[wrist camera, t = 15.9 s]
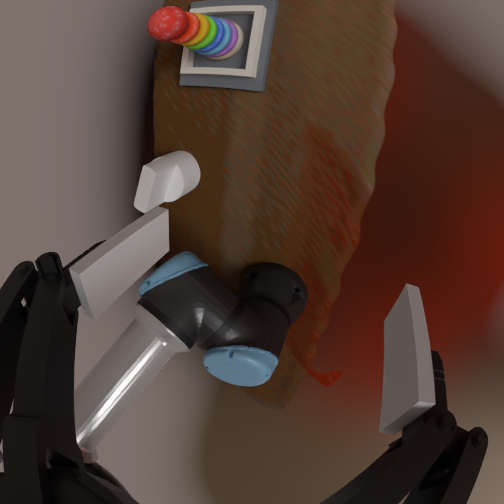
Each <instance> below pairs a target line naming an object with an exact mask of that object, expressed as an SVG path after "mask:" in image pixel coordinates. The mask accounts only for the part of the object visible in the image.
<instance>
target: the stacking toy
mask: <svg viewBox="0 0 504 504" xmlns="http://www.w3.org/2000/svg"><path fill="white" fill-rule="evenodd" d="M147 28H148V32H149V34H150V35H151V36H152V37H153V38H155V39H157V40H159V41H172V42H173V43H177V44H180V45H183V46H185V47H186V48H188V49H191V50H193V51H195V52H197V53H199V54H202V55H205V56H207V57H208V58H210V59H213V60H224V59H228V58H230V57H232V56H233V55H235V54H236V53H237V52H238V51H239V49H240V48H241V46H242V44H243V39H244V36H243V31H242V29H241V28H240V27H239V25H237V24H236V23H235V22H233V21H230V20H227V19H224V18H215V17H212V16H207V15H203V14H200V13H191V12H185V11H184V10H182V9H181V8H178V7H175V6H167V7H163V8H160V9H159V10H157V11H155V12H154V13H153V14H152V16H151V17H150V18H149V21H148V25H147Z"/></svg>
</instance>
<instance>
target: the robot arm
mask: <svg viewBox="0 0 504 504" xmlns="http://www.w3.org/2000/svg"><path fill="white" fill-rule="evenodd" d="M168 251H169V222H168V209H165V208H161V207H156V208H154V209H153V210H151V211H150V212H148V213H147V214H145V215H144V216H142V217H141V218H139V219H137V220H136V221H134V222H133V223H131V224H130V225H128V226H127V227H125V228H124V229H123V230H121V231H119V232H118V233H116V234H115V235H114V236H112V237H111V238H109V239H108V240H104V241H101V242H99V243H96V244H95V245H93V246H92V247H91V248H89V250H86V251H85V252H84V253H83V254H81V255H80V256H78V257H77V258H76V259H74V260H73V261H72V262H70V263H69V264H68V265H66V266H65V267H64V268H63V267H62V263H61V260H60V257H59V255H58V254H57V253H55V252H48V253H45V254H42V255H41V256H40V257H38V258H37V260H36V261H35V263H36V266H37V269H38V271H37V270H36V269H35V266H34V264H33V262H31V261H24V262H22V263H20V264H18V265H17V266H16V267H15V268H14V270H13V271H12V273H11V274H10V276H9V277H8V278H7V280H6V281H5V283H4V284H3V286H2V287H1V289H0V443H1V441H2V438H3V454H2V452H1V451H0V463H1V462H2V461H3V464H4V472H0V504H139V503H138V502H137V501H135V500H134V499H133V498H132V497H131V496H130V494H129V493H128V491H127V490H126V489H125V488H124V486H123V485H122V484H121V483H120V482H119V481H118V480H117V479H116V478H115V477H114V476H113V475H112V474H111V473H110V472H109V471H107V470H106V469H105V468H103V467H102V466H101V465H99V464H98V463H96V461H97V459H98V454H97V451H96V447H97V445H98V444H99V443H100V442H101V441H102V439H103V438H104V437H105V436H106V435H107V434H108V432H109V431H110V430H111V429H112V427H113V426H114V425H115V424H116V423H117V422H118V420H119V419H120V418H121V417H122V416H123V414H124V413H125V412H126V411H127V409H129V407H130V406H131V405H132V404H133V403H134V401H135V400H136V399H137V398H138V396H139V395H140V394H141V393H142V392H143V390H144V389H145V388H146V387H147V386H148V385H149V383H150V382H151V381H152V380H153V379H154V377H155V376H156V375H157V374H158V373H159V371H160V370H161V369H162V368H163V366H164V365H165V364H166V363H167V362H168V360H169V359H170V358H171V357H172V355H174V353H177V352H186V351H189V350H190V348H191V347H192V346H193V345H194V344H196V345H197V346H198V347H199V348H201V349H202V350H203V351H204V352H205V354H204V357H203V364H204V365H205V366H206V369H207V370H208V371H209V372H210V373H211V374H212V375H214V376H215V377H218V378H219V379H221V380H223V381H225V382H228V383H231V384H235V385H240V386H256V385H260V384H262V383H264V382H266V381H267V380H268V379H269V378H270V377H271V375H272V373H273V371H274V369H275V367H276V365H277V364H278V359H279V356H280V353H281V351H282V348H283V345H284V342H285V339H286V336H287V333H288V330H289V328H290V326H291V325H292V324H293V323H294V322H295V321H296V320H297V318H298V317H299V316H300V315H301V314H302V313H303V311H304V309H305V306H306V302H307V298H308V294H307V289H306V286H305V284H304V282H303V281H302V279H301V278H300V277H299V276H298V275H297V274H296V273H295V272H293V271H292V270H290V269H289V268H287V267H285V266H282V265H279V264H274V263H262V264H258V265H255V266H253V267H252V268H250V269H249V270H248V271H247V272H246V273H245V275H244V276H243V278H242V280H241V282H240V285H239V291H238V293H237V292H236V291H234V290H233V289H232V288H231V287H230V286H229V285H228V284H227V283H226V282H224V281H223V280H222V279H221V278H220V277H219V276H218V275H217V274H216V273H215V272H214V271H213V270H212V269H211V268H210V267H209V265H208V264H206V263H204V262H203V261H202V260H200V259H199V258H198V257H197V256H196V255H194V254H193V253H191V252H188V251H185V252H181V253H179V254H177V255H175V256H174V257H172V258H171V259H169V260H168V261H166V262H165V263H164V264H162V265H161V266H160V267H159V268H158V269H156V270H155V271H154V272H153V273H152V274H151V275H150V276H149V278H147V279H146V280H145V281H144V282H143V283H142V284H141V285H140V287H139V288H138V293H139V295H140V297H141V296H142V298H141V299H140V300H139V301H138V302H137V303H136V304H135V308H136V309H135V310H136V317H135V320H133V322H132V323H131V324H130V325H129V326H128V327H127V329H126V330H125V331H124V332H123V333H122V334H121V335H120V337H119V338H118V339H117V340H116V341H115V342H114V344H113V345H112V346H111V347H110V348H109V350H108V351H107V352H106V353H105V354H104V355H103V357H102V358H101V359H100V360H99V362H98V363H97V364H96V365H95V366H94V367H93V369H92V370H91V371H90V372H89V374H88V375H87V376H86V377H85V378H84V380H83V381H82V382H81V384H80V385H79V386H78V387H77V388H76V390H75V391H74V363H75V346H76V334H77V323H78V315H79V314H78V309H77V308H78V307H79V306H82V308H83V311H84V313H85V314H86V315H87V316H89V317H90V318H92V319H93V320H96V319H97V318H98V317H99V316H100V315H101V314H102V313H103V312H104V311H105V310H106V309H107V308H108V307H109V306H110V305H111V304H112V303H113V302H114V301H115V300H116V299H117V298H118V297H119V296H120V295H121V294H123V292H125V291H126V290H127V289H128V288H129V287H130V286H131V285H132V284H133V283H134V282H135V281H136V280H137V279H138V278H140V277H141V275H143V274H144V273H145V272H146V271H147V270H148V269H149V268H150V267H152V266H153V265H154V264H155V263H156V262H157V261H158V260H159V259H160V258H162V257H163V256H164V255H165V254H166V253H167V252H168ZM23 298H24V300H25V302H26V305H25V306H24V307H23V305H22V303H21V301H22V299H23ZM443 372H444V369H443V362H442V360H441V358H440V356H439V354H438V352H436V351H432V350H430V343H429V336H428V330H427V325H426V319H425V314H424V309H423V304H422V300H421V295H420V291H419V288H418V287H415V286H412V285H409V284H406V285H405V287H404V289H403V291H402V293H401V294H400V296H399V298H398V299H397V301H396V303H395V304H394V306H393V308H392V310H391V311H390V313H389V314H388V316H387V318H386V319H385V321H384V379H383V396H382V408H381V418H380V429H379V432H382V433H389V434H395V433H397V432H399V431H400V430H401V429H403V430H402V437H401V438H399V439H397V440H396V441H394V442H392V443H391V444H389V447H390V446H391V447H390V448H389V449H388V450H386V451H385V452H384V453H383V454H382V456H380V457H379V458H378V459H377V460H376V461H375V462H373V463H372V464H371V465H370V466H369V467H368V468H367V469H366V470H364V471H363V472H362V473H361V474H359V475H358V476H357V477H356V478H354V479H353V480H352V481H351V482H349V483H348V484H347V485H345V486H344V487H343V488H341V489H340V490H339V491H337V492H336V493H335V494H333V495H332V496H330V497H329V498H327V499H326V500H324V501H323V502H321V503H320V504H398V503H399V502H400V501H401V500H402V499H403V498H404V497H405V496H406V495H407V494H408V493H409V492H410V493H409V495H408V496H407V498H406V499H405V501H404V503H403V504H466V503H467V501H468V499H469V496H470V494H471V492H472V489H473V487H474V484H475V482H476V479H477V476H478V474H479V471H480V468H481V465H482V462H483V459H484V456H485V453H486V449H487V446H488V437H487V434H486V432H485V431H484V429H482V428H481V427H475V428H473V429H472V430H470V431H469V432H468V431H466V430H464V429H462V428H460V427H458V426H457V423H456V419H455V417H454V415H453V414H452V413H451V412H449V411H448V410H447V398H446V386H445V381H444V380H445V378H444V373H443ZM13 399H14V402H13ZM12 402H13V412H12V413H11V414H9V413H10V409H11V406H12Z"/></svg>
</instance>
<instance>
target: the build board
mask: <svg viewBox="0 0 504 504" xmlns="http://www.w3.org/2000/svg"><path fill="white" fill-rule="evenodd" d="M278 3H279V2H278V0H207V1H198V2H192V3H191V8H190V12H191V13H200V14H203V15H207V16H212V17H215V18H224V19H227V20H230V21H233V22H235V23H236V24H237V25H239V27H240V28H241V29H242V31H243V36H244V39H243V44H242V46H241V48H240V49H239V51H238V52H237V53H236V54H235V55H233V56H232V57H230V58H228V59H224V60H213V59H210V58H208V57H207V56H205V55H202V54H199V53H197V52H195V51H193V50H191V49H188V48H186V47H185V46H184V48H183V55H182V62H181V70H180V82H179V85H188V86H210V87H224V88H235V89H244V90H253V91H260V92H264V88H265V81H266V75H267V69H268V63H269V57H270V51H271V44H272V38H273V32H274V26H275V21H276V15H277V9H278Z"/></svg>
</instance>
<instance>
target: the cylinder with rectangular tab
mask: <svg viewBox="0 0 504 504" xmlns="http://www.w3.org/2000/svg"><path fill="white" fill-rule="evenodd" d="M199 179H200V169H199V165H198V163H197V161H196V160H195V158H194V157H193V156H192V155H191V154H189V153H187V152H185V151H175V152H172V153H169V154H166V155H164V156H161V157H158V158H156V159H154V160H153V161H152V162H151V163H149V164H146V165H144V166H143V169H142V173H141V176H140V181H139V185H138V188H137V193H136V197H135V201H134V206H135V207H136V208H137V209H138V210H139V211H141V212H143V213H147V212H148V211H150V210H152V209H153V208H155V207H156V206H158V205H160V204H161V203H163V202H164V201H165V202H173V201H175V200H177V199H178V198H180V197H182V196H183V195H185V194H186V193H188V192H190V191H191V190H193V189H194V188H195V187H196V186H197V184H198V183H199Z"/></svg>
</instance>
